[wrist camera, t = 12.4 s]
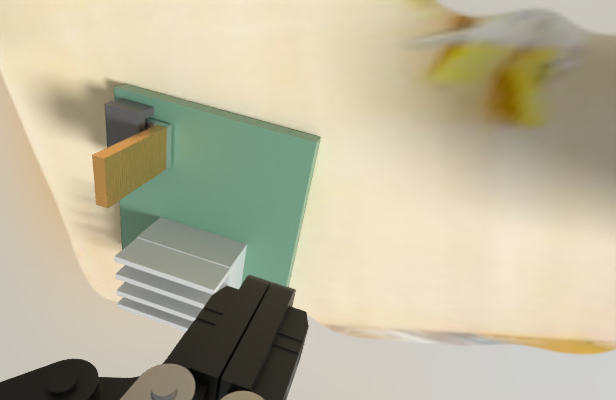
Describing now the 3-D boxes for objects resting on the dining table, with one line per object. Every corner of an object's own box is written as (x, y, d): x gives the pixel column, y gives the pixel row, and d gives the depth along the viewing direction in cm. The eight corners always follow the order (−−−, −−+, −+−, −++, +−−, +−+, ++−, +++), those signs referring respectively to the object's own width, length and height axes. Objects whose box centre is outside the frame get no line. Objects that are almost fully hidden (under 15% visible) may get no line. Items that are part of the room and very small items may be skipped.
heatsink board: (320, 137, 43) (292, 175, 34) (285, 298, 55) (257, 360, 45) (125, 83, 47) (49, 105, 37) (131, 247, 58) (74, 295, 49)
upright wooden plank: (171, 124, 45) (104, 158, 35) (170, 166, 47) (107, 208, 38) (124, 111, 45) (45, 140, 36) (126, 153, 48) (52, 190, 38)
